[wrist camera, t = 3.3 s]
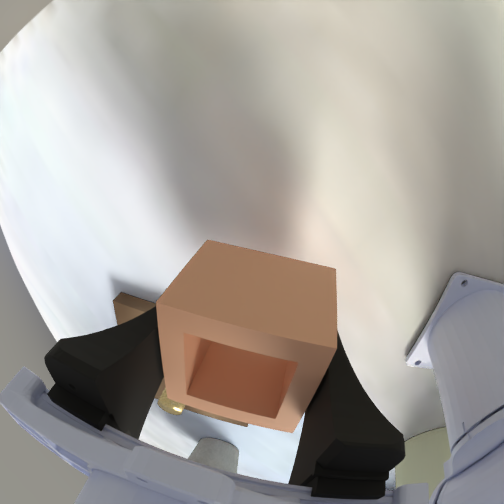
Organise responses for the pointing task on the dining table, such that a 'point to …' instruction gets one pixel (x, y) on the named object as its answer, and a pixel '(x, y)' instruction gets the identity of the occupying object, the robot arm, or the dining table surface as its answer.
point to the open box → (247, 334)
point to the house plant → (216, 454)
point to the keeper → (128, 310)
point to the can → (424, 459)
